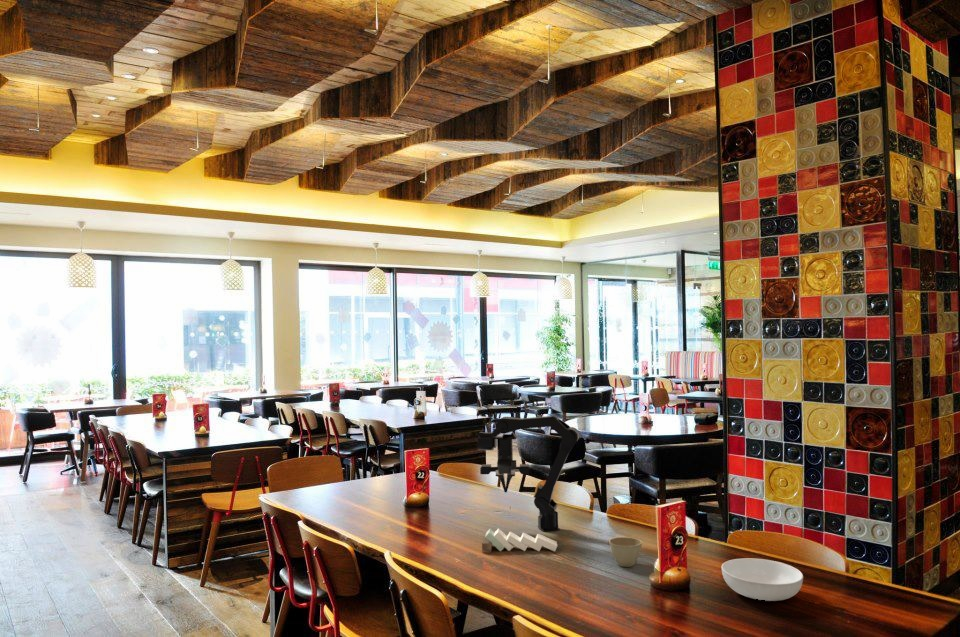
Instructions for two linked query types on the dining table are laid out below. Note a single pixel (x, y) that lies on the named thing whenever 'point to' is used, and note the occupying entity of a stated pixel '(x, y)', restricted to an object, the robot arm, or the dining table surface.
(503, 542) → the domino
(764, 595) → the serving bowl
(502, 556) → the dining table surface
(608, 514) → the dining table surface
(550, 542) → the domino
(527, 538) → the domino
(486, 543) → the end block
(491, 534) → the domino sage
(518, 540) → the domino
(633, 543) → the flower pot
